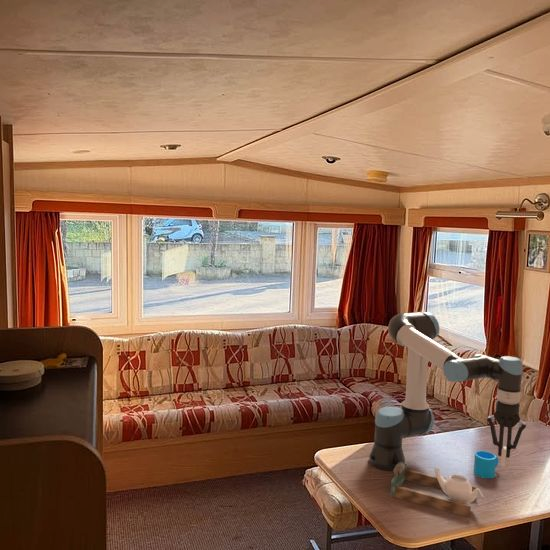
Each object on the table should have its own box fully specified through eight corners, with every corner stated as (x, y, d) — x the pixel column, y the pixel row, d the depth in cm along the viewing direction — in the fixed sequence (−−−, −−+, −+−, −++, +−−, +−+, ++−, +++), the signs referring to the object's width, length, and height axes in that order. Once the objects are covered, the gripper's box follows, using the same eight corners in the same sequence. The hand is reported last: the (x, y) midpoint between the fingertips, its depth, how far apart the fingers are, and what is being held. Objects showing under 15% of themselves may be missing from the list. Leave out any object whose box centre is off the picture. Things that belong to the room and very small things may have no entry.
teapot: (476, 518, 189) (478, 493, 188) (426, 495, 204) (428, 472, 203) (489, 509, 195) (491, 485, 194) (440, 487, 210) (441, 465, 209)
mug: (485, 480, 217) (486, 461, 216) (469, 471, 224) (470, 453, 223) (505, 474, 223) (506, 455, 222) (488, 466, 230) (490, 447, 229)
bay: (388, 495, 203) (389, 472, 202) (400, 476, 218) (401, 455, 217) (469, 517, 190) (471, 493, 189) (476, 495, 205) (477, 473, 204)
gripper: (487, 400, 188) (482, 465, 191) (528, 407, 182) (522, 474, 185) (489, 394, 195) (484, 456, 197) (529, 401, 189) (523, 465, 191)
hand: (503, 465), depth 191 cm, fingers closed
